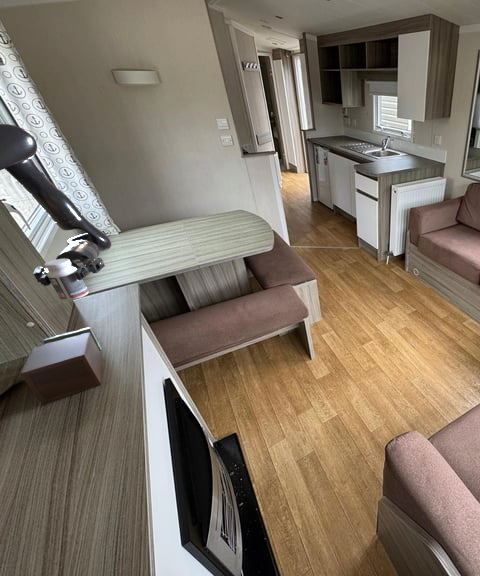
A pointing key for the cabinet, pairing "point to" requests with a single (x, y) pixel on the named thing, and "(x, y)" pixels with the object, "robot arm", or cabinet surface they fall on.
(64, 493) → the cabinet surface
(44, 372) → the cabinet
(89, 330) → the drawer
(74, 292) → the pill bottle
